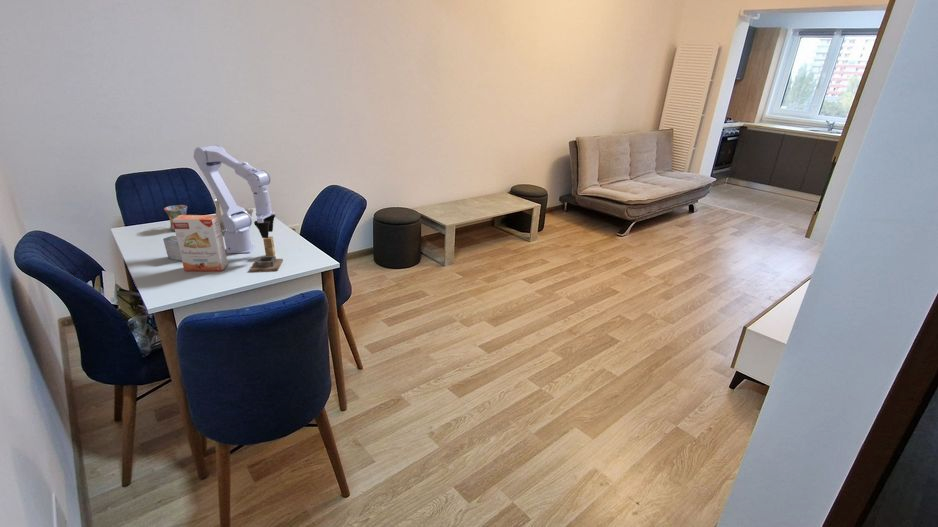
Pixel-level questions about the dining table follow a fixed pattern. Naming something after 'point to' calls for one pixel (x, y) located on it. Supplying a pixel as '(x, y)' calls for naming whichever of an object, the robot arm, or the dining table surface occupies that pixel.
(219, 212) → the chinaware
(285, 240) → the dining table surface
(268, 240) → the wick block
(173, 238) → the medicine box
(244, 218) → the robot arm
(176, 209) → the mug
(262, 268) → the clip stand
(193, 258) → the cracker box
